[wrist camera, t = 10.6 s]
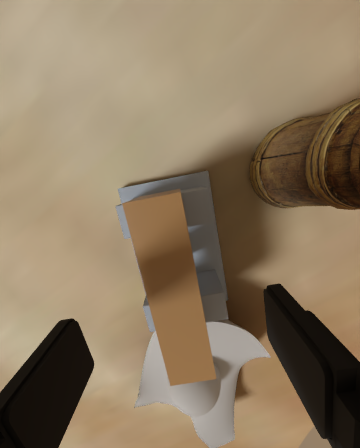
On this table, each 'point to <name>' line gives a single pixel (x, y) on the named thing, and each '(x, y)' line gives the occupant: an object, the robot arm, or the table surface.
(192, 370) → the tan wooden plank
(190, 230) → the display stand
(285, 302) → the robot arm
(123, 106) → the table surface
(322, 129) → the wooden mug
